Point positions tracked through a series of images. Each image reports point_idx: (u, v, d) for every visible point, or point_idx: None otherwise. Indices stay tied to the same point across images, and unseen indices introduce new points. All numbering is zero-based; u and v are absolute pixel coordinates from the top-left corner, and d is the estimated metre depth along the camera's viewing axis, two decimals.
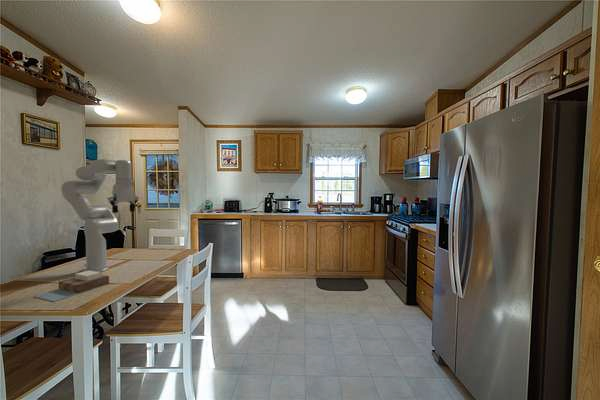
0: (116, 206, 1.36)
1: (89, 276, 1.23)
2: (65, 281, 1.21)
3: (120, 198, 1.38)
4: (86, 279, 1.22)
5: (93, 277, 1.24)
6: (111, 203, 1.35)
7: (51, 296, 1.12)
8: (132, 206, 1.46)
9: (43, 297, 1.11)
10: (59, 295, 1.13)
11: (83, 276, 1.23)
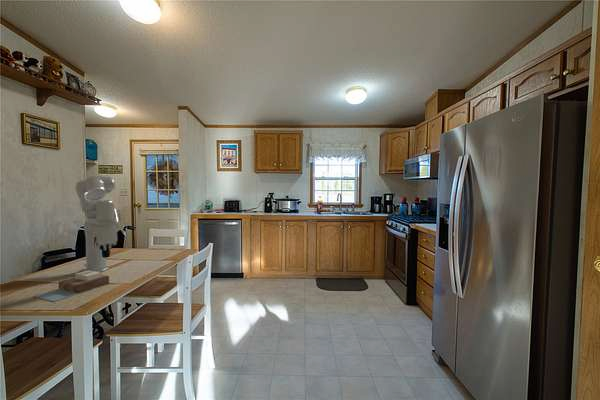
0: (106, 251, 1.32)
1: (89, 276, 1.23)
2: (65, 281, 1.21)
3: (101, 241, 1.29)
4: (86, 279, 1.22)
5: (93, 277, 1.24)
6: (100, 248, 1.31)
7: (51, 296, 1.12)
8: None
9: (43, 297, 1.11)
10: (59, 295, 1.13)
11: (83, 276, 1.23)
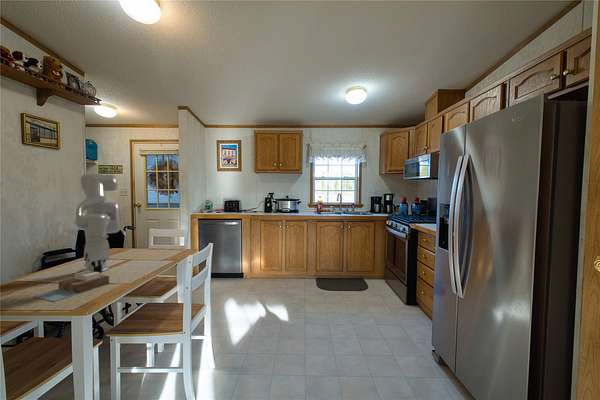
0: (97, 267, 1.29)
1: (88, 276, 1.22)
2: (65, 281, 1.21)
3: (93, 258, 1.26)
4: (85, 279, 1.22)
5: (92, 277, 1.24)
6: (92, 264, 1.28)
7: (51, 296, 1.12)
8: None
9: (43, 297, 1.11)
10: (59, 295, 1.13)
11: (82, 276, 1.22)
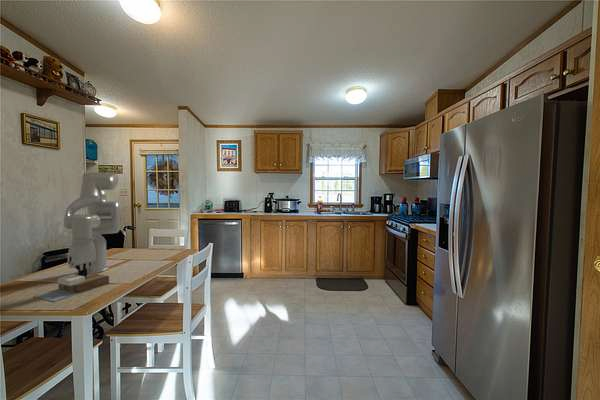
0: (82, 271, 1.22)
1: (72, 281, 1.16)
2: None
3: (77, 261, 1.20)
4: (69, 284, 1.15)
5: (77, 282, 1.18)
6: (76, 268, 1.21)
7: (51, 296, 1.12)
8: None
9: (43, 297, 1.11)
10: (59, 295, 1.13)
11: (66, 281, 1.16)
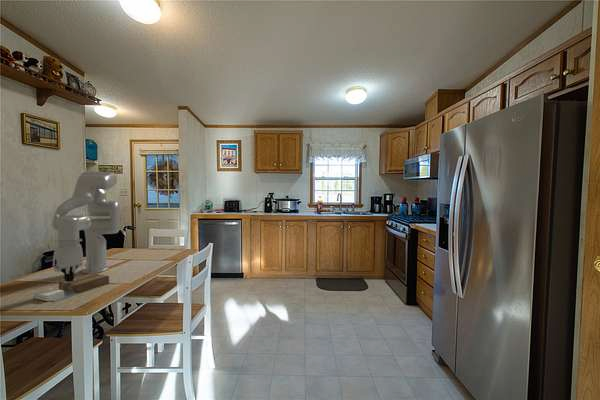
0: (69, 274, 1.17)
1: (61, 295, 1.12)
2: (65, 281, 1.21)
3: (63, 264, 1.14)
4: None
5: (56, 294, 1.10)
6: None
7: None
8: None
9: None
10: None
11: None
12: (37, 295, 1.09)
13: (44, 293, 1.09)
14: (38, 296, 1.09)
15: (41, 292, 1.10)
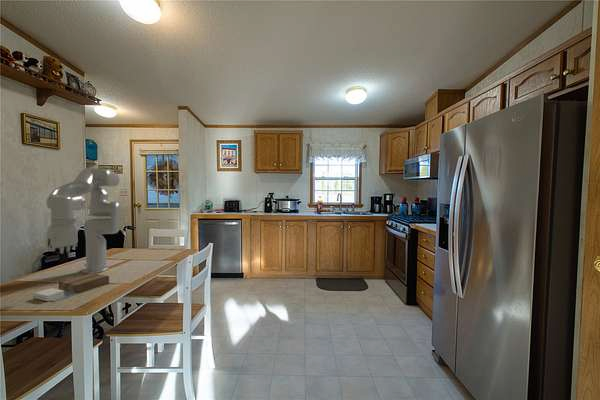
0: (63, 254, 1.15)
1: (61, 295, 1.12)
2: (65, 281, 1.21)
3: (56, 244, 1.12)
4: None
5: (56, 294, 1.10)
6: (56, 251, 1.14)
7: None
8: None
9: None
10: None
11: None
12: (37, 295, 1.09)
13: (44, 293, 1.09)
14: (38, 296, 1.09)
15: (41, 292, 1.10)
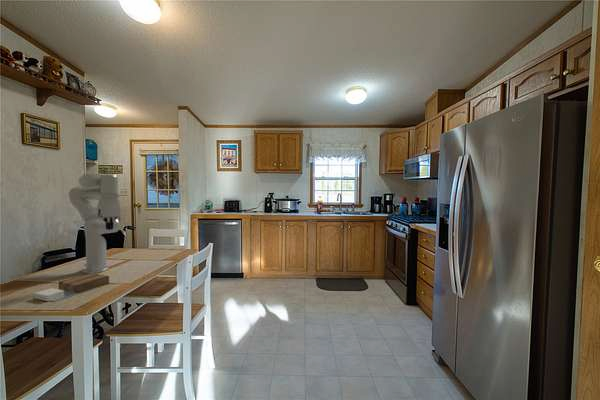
0: (109, 223, 1.37)
1: (61, 295, 1.12)
2: (65, 281, 1.21)
3: (105, 213, 1.34)
4: None
5: (56, 294, 1.10)
6: (104, 220, 1.36)
7: None
8: None
9: None
10: None
11: None
12: (37, 295, 1.09)
13: (44, 293, 1.09)
14: (38, 296, 1.09)
15: (41, 292, 1.10)
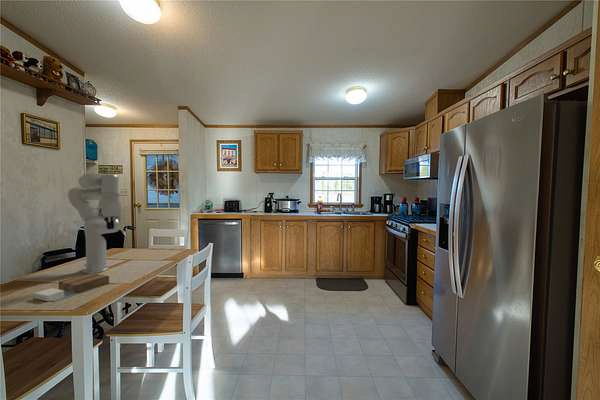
0: (110, 223, 1.37)
1: (61, 295, 1.12)
2: (65, 281, 1.21)
3: (106, 213, 1.35)
4: None
5: (56, 294, 1.10)
6: (105, 220, 1.36)
7: None
8: None
9: None
10: None
11: None
12: (37, 295, 1.09)
13: (44, 293, 1.09)
14: (38, 296, 1.09)
15: (41, 292, 1.10)
